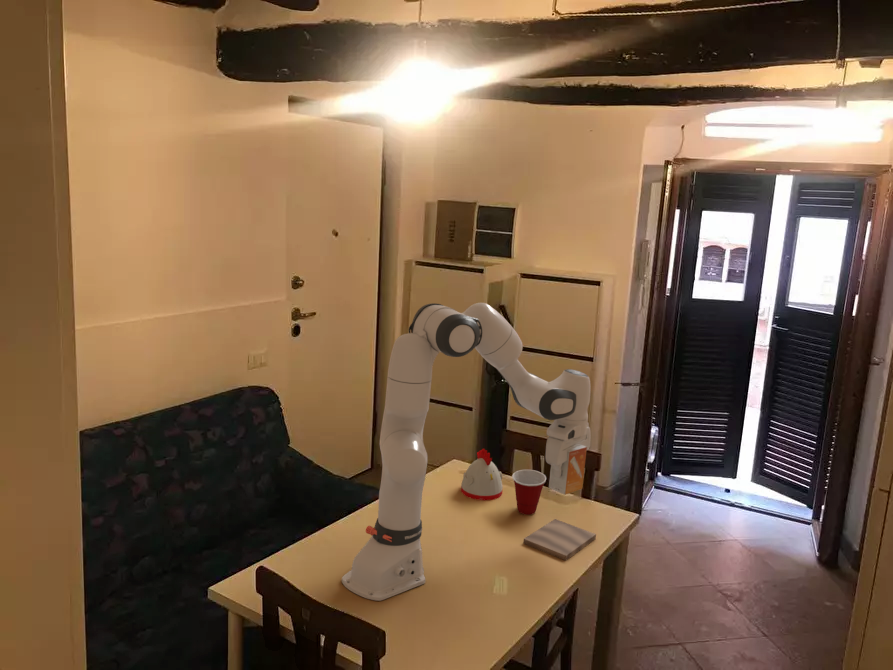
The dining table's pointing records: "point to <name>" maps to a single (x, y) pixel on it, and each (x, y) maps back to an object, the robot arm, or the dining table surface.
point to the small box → (570, 472)
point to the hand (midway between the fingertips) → (566, 471)
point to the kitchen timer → (482, 479)
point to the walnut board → (559, 539)
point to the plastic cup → (528, 489)
